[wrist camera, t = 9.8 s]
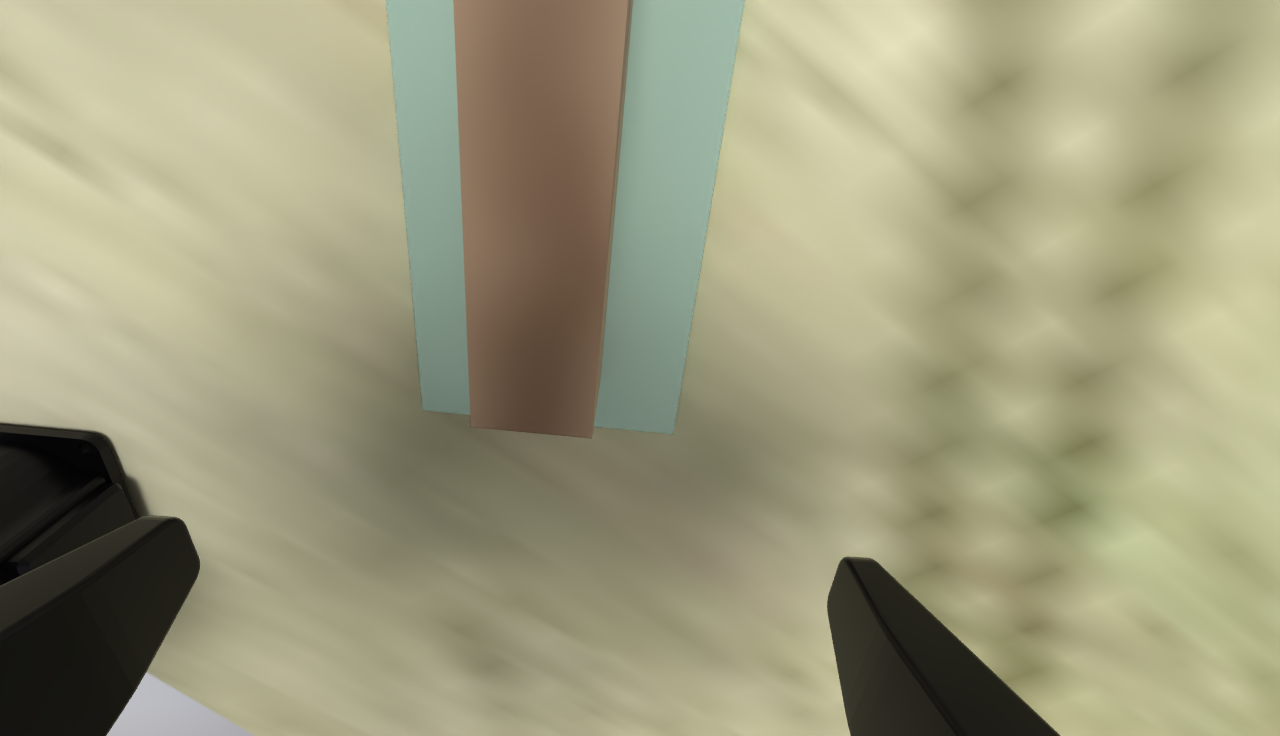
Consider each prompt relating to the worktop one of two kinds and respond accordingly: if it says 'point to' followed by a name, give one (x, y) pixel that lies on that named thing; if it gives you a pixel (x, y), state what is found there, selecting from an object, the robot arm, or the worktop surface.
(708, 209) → the mat
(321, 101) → the worktop surface
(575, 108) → the rail
